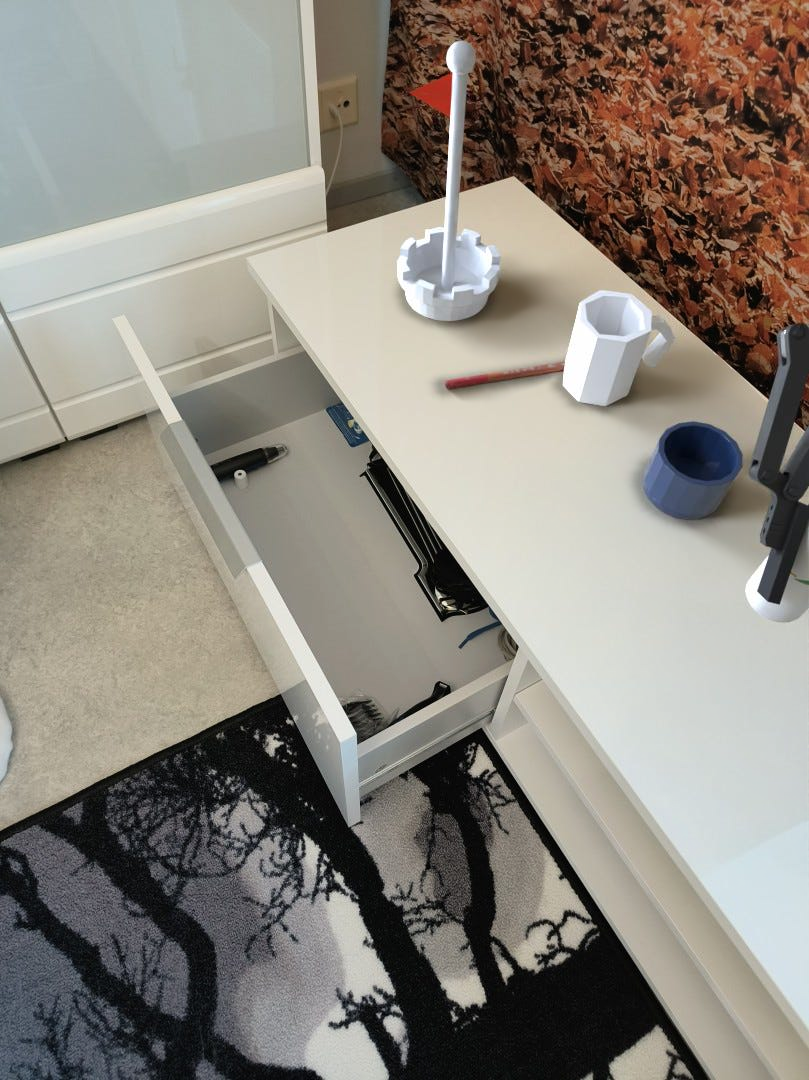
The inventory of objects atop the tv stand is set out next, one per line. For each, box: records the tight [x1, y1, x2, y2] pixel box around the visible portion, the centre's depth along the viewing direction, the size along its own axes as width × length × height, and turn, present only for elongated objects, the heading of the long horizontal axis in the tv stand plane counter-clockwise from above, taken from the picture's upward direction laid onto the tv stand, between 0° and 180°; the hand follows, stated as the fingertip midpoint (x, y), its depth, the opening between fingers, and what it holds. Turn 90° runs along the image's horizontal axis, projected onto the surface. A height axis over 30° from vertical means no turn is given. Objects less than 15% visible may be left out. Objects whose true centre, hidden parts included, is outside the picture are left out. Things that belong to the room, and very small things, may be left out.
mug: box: [562, 289, 677, 407], centre depth 85 cm, size 12×9×10 cm
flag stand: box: [396, 40, 501, 322], centre depth 85 cm, size 13×13×30 cm
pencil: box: [444, 361, 565, 390], centre depth 89 cm, size 19×1×1 cm, turn 102°
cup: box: [642, 420, 744, 520], centre depth 78 cm, size 8×8×6 cm
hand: (807, 606), depth 48 cm, fingers closed on tube, 4 cm apart
